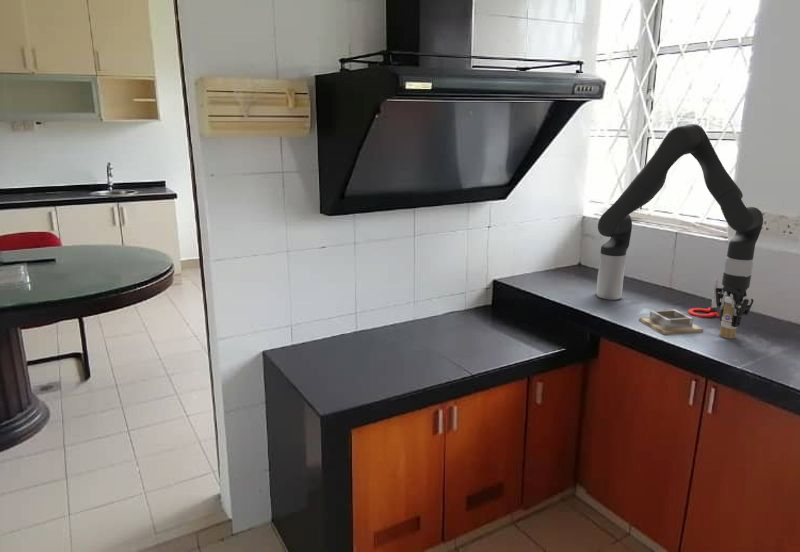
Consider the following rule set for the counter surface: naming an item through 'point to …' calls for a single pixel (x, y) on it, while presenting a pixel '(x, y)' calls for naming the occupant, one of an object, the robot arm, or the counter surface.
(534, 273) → the counter surface
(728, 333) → the sprinkles bottle
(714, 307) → the tow hook
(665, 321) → the keeper
